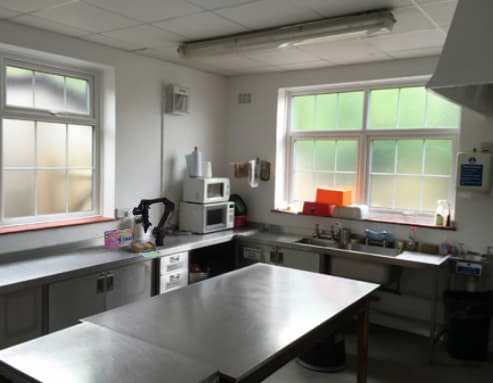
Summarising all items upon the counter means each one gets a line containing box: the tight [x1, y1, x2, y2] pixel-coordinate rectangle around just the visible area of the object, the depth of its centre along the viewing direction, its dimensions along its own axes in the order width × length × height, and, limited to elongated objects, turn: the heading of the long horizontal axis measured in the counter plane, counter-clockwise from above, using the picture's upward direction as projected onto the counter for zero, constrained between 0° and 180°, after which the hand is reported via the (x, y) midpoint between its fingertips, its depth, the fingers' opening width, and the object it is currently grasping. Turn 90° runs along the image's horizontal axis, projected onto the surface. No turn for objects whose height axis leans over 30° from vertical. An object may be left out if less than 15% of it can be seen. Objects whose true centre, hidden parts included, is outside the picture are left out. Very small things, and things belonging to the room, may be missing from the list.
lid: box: [138, 250, 162, 258], centre depth 341 cm, size 13×18×3 cm
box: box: [129, 240, 157, 254], centre depth 357 cm, size 16×18×5 cm
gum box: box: [103, 227, 134, 250], centre depth 372 cm, size 24×8×14 cm, turn 138°
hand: (145, 233), depth 365 cm, fingers closed
